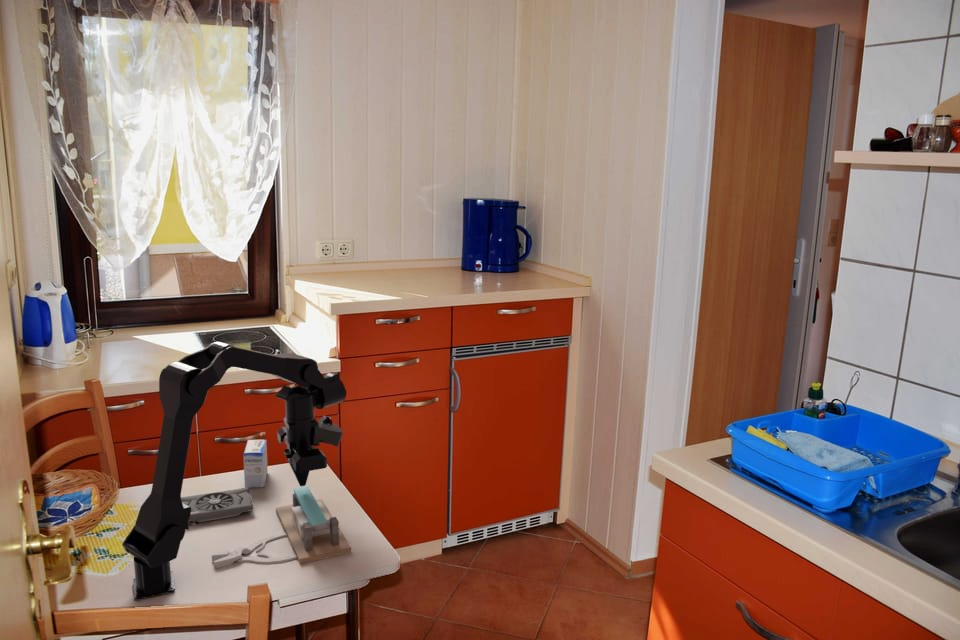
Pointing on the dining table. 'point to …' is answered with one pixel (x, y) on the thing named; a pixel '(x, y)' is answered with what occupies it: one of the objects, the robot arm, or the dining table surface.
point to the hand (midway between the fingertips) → (302, 485)
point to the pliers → (236, 555)
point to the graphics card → (218, 505)
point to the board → (316, 541)
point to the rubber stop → (295, 501)
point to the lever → (311, 509)
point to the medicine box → (255, 463)
